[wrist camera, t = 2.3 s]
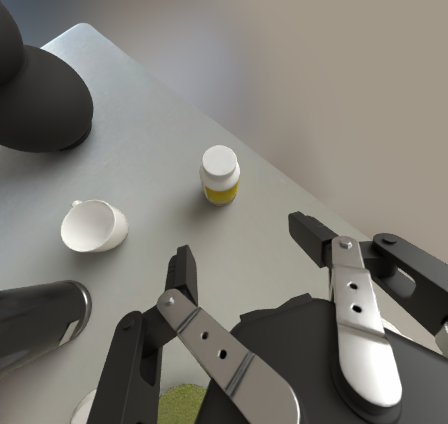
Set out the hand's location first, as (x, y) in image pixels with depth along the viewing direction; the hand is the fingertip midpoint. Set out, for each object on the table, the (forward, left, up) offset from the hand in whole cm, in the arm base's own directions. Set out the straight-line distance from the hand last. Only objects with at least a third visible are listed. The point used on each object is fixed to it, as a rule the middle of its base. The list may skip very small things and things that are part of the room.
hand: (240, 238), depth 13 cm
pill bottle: (+3, +11, -18) cm, 21 cm away
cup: (-18, +13, -18) cm, 28 cm away
